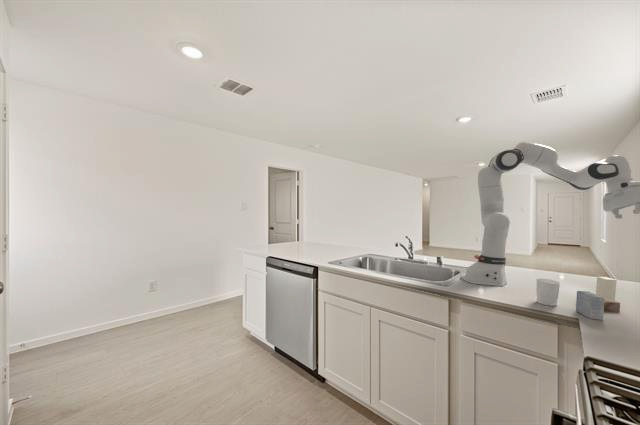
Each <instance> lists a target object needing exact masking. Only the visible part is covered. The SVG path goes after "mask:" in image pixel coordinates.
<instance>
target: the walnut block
mask: <svg viewBox="0 0 640 425" xmlns="http://www.w3.org/2000/svg"><path fill="white" fill-rule="evenodd" d="M598 296H600V295H598ZM601 297H602V296H601ZM603 298H604V312H620V309H621V307H620V306H621V303H620V301H617V300H615V301H614V300H611V299H608V298H605V297H603Z"/></svg>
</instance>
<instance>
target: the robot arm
mask: <svg viewBox="0 0 640 425" xmlns="http://www.w3.org/2000/svg"><path fill="white" fill-rule="evenodd" d="M558 159H559V154H558V151H556V149H554V148H552V147H551V146H548V145H543V144H539V143H535V142H527V141H522V142H519V143H517V144H516V145H515V146H514V148H513V149H507V150H503V151H501V152H498V153H497V154H495V155H494V156H493V157H492V158H491V160H490V162H489V164H488V166H486V167H484V168H481V169H480V170H479V171H478V174H477V186H478V187H477V188H478V195H479V202H480V203H479V204H480V216H481V224H482V226H483V227H484V230H483V235H482V236H483V237H482V241H481V254H480V255H477V254H474V259H477V261H476V262H474V263H472V264H470V265H469V266H468V267H467V268H466V269H465V274H461V275H460V278H461V279H462V280H463V281H465V282H468V283H470V284H473V285H483V286H484V285H485V286H496V287H497V286H498V287H505V285H507V284H508V282H507V277H506V268H505V267H506V260H507V259H506V258H507V257H506V245H507V238H508V233H509V229H510V224H511V223H510V222H511V221H510V219H509V217H508V216H507V214H505V213H504V200H505V198H504V193H503V192H504V191H503V185H502V180H501V179H502V174H504V173H509V172H511V171H512V170H514V169H516V168H517V167H518V166H519V165H520V164H525V165H527V166H531V167H535V168H537V169H539V170H540V171H541V172H543V173H545V174H547V175H549V176H551V177H554V178H556V179H558V180H561V181H563V182H566V183H567V184H569V185H570V186H571V187H573V188H575V189H576V190H581V191H586V190H589V189H591V188H593V187H595V186H596V185H598V184H600V183H606V187H607V188H606V189H607V192H608V193H605V194H604V196H603V198H602V208H603V211H604V212H611V213H612V214H613V216H614V217H615V219H616V220H617V219H618V220H620V219H623V215H622V214H620V213H619V212H620V210H622V209H625V208H629V207H633V206H634V209H633V210H632V212H633V214H634V215H639V214H640V180H637V181H636V180H634V178H633V177H632V175H631V174H632V169H631V167H630V163H629V161H628V159H627V158H626V157H625V156H624V155H623V156H622V155H617V154H616V155H615V154H614V155H609V156H606V157H604V158H603V159H602V160H599V161H597V162H593V163H591V164H589V165H587V166H585V167H584V168H582V169H580V170H572V169H569V168H566V167H564V166H561V165H560V164H559V163H558Z"/></svg>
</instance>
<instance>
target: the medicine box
mask: <svg viewBox="0 0 640 425" xmlns="http://www.w3.org/2000/svg"><path fill="white" fill-rule="evenodd" d="M575 299H576V301H575V312H577V313H579V314H581V315H583V316H585V317H587V318H588V319H590V320H599V321H603V320H604V312H605V311H604V298H603V297H601V296H598V295H596V293H594V292H591V291H586V290H577V291H576V298H575Z"/></svg>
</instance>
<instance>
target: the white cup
mask: <svg viewBox="0 0 640 425" xmlns="http://www.w3.org/2000/svg"><path fill="white" fill-rule="evenodd" d="M560 285H561V283H560V281H557V280H554V279H550V278H542V277H541V278H538V277H537V278H536V286H535V287H536V291H535V292H536V303H538V304H540V305H544V306H548V305H549V307H556V306H557V304H558V298H559V293H560Z"/></svg>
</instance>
